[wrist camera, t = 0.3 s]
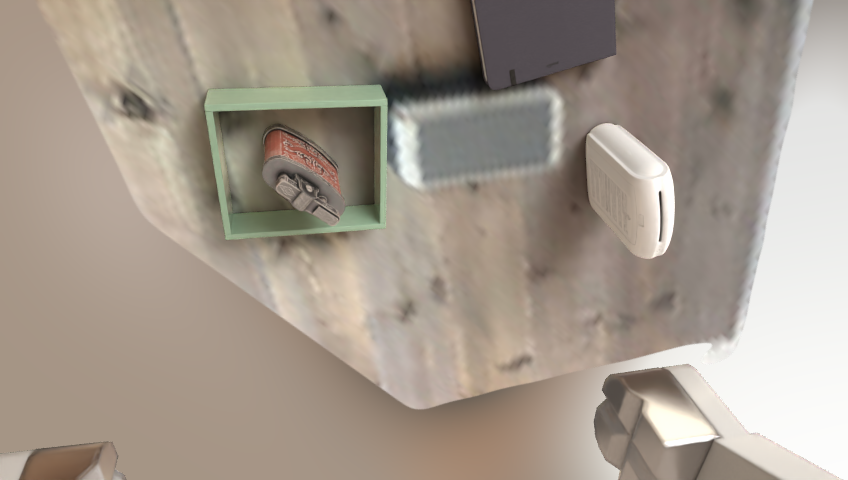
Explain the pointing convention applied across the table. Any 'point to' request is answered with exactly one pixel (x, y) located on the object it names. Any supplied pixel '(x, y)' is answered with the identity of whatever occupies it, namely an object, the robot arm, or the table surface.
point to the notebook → (540, 37)
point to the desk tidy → (297, 99)
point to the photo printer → (630, 189)
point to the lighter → (302, 173)
